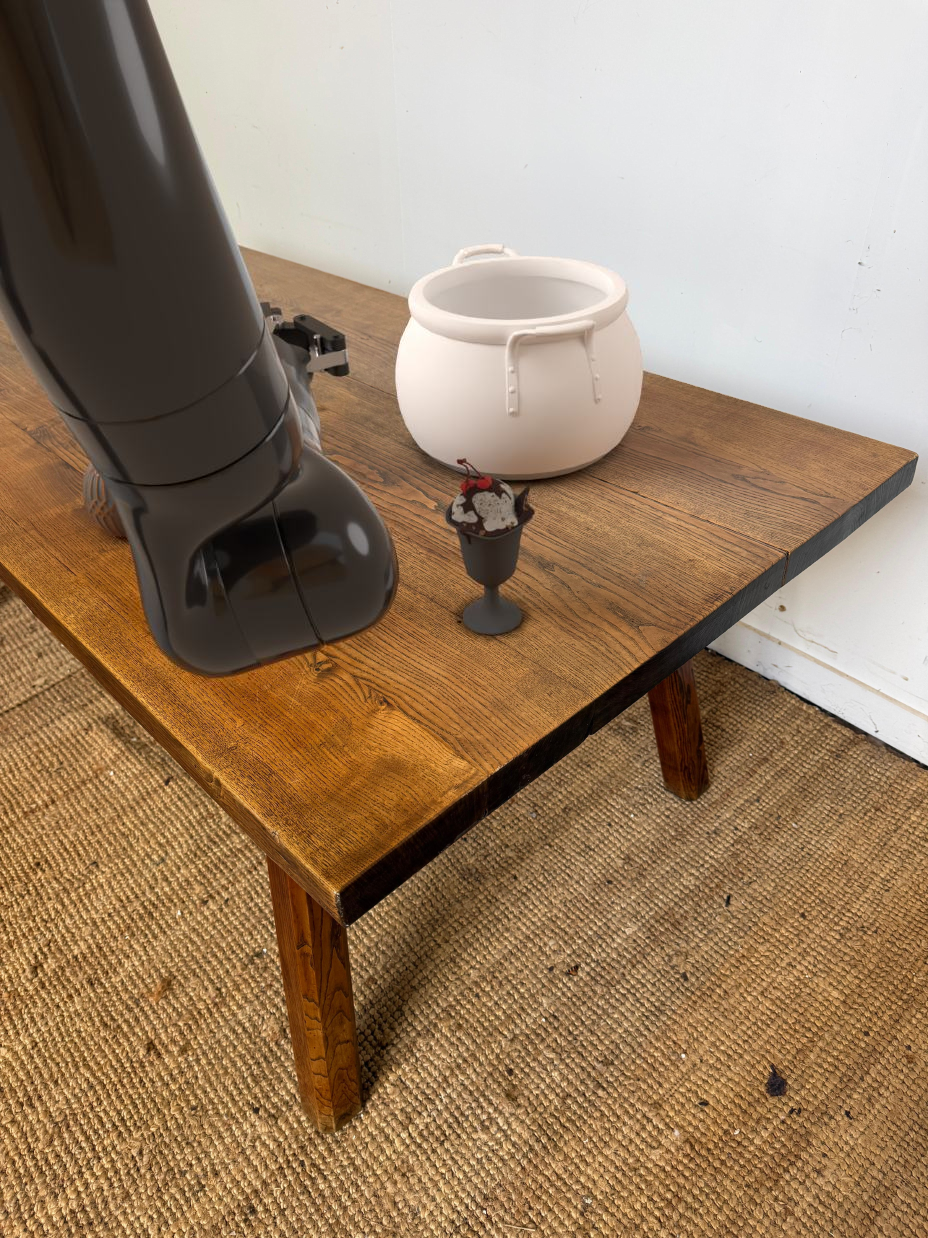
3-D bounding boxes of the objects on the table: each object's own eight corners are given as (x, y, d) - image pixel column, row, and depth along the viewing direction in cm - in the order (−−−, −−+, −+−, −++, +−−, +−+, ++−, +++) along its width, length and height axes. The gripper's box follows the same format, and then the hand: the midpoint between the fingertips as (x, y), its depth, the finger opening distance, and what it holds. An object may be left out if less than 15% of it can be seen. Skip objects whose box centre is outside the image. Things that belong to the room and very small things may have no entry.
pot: (380, 402, 108) (364, 256, 98) (583, 373, 113) (589, 230, 102) (432, 520, 86) (419, 347, 75) (683, 477, 90) (704, 308, 80)
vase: (84, 527, 88) (55, 447, 82) (147, 501, 91) (124, 423, 86) (114, 554, 83) (86, 471, 78) (180, 525, 87) (157, 445, 82)
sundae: (435, 620, 73) (422, 458, 64) (488, 584, 77) (483, 425, 68) (494, 653, 69) (490, 486, 60) (548, 613, 73) (551, 450, 64)
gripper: (366, 335, 48) (328, 253, 62) (100, 370, 46) (120, 277, 59) (380, 458, 53) (342, 357, 66) (138, 495, 51) (149, 383, 64)
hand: (237, 319), depth 63 cm, fingers closed on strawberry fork, 3 cm apart
